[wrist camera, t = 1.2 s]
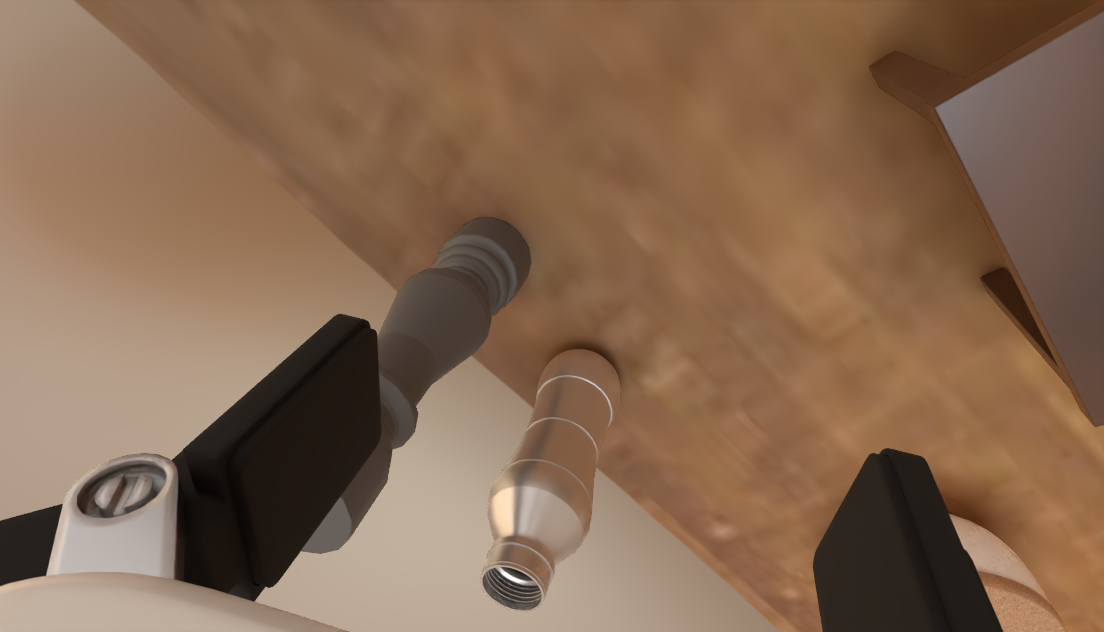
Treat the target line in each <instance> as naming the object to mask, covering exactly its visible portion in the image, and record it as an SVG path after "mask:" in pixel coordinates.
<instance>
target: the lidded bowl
mask: <svg viewBox="0 0 1104 632" xmlns="http://www.w3.org/2000/svg"><path fill="white" fill-rule="evenodd" d="M949 515H950V517H951V520H952V522H953V525H954V527H955V529H956V532H957V534H958V536H959V539H960V541H961V543H962V546H963V548H964V549H965V550H966V551H967V552H968V553H969V555H970V557H971V558H972V560H973V562H974V565H975V567H976V569H977V572H978V574H979V576H980V578H981V581H982V583H983V585H984V588H985V590H986V592H987V595H988V597H989V599H990V602H991V604H992V606H993V608H994V611H995V613H996V615H997V618H998V620H999V622H1000V625H1001V627H1002V629H1003V632H1067V630H1066V628H1065V626H1064V624H1063V622H1062V620H1061V618H1060V616H1059V615H1058V613H1057V612H1056V611H1055V609H1054V608H1053V607H1052V605H1051V604H1050V603H1049V601H1048V599H1047V597H1046V595H1045V594H1044V592H1043V590H1042V589H1041V587H1040V585H1039V583H1038V582H1037V581H1036V579H1035V578H1034V576H1033V575H1032V574H1031V572H1030V571H1029V570H1028V568H1027V567H1026V566H1025V564H1024V563H1023V561H1022V560H1021V559H1020V558H1019V557H1018V556H1017V555H1016V554H1015V553H1014V551H1013V550H1012V549H1011V548H1010V547H1008V546H1007V545H1006V544H1005V543H1004V542H1003V541H1002V540H1000V539H999V538H998V537H997V536H995V535H994V534H992V533H991V532H989V531H988V530H986V529H985V528H983V527H981V526H979V525H977V524H975V523H973V522H971V521H969V520H966V519H963V518H960V517H957V516H954V515H952V514H950V513H949Z"/></svg>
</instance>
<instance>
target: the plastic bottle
mask: <svg viewBox="0 0 1104 632" xmlns="http://www.w3.org/2000/svg"><path fill="white" fill-rule="evenodd" d="M620 399H621V392H620V380H619V377H618V374H617V372H616V371H615V369H614V367H613V366H612V365H611V364H610V363H609V362H608V361H607V360H606V359H605V358H603V357H602V356H601V355H599V354H597V353H595V352H593V351H590V350H585V349H572V350H567V351H564V352H561V353H560V354H558V355H556V356H555V357H554V358H553V359H552V360H551V361H550V362H549V364H548V365H547V366H546V367H545V369H544V370H543V372H542V374H541V377H540V380H539V384H538V388H537V395H536V403H535V407H534V410H533V413H532V417H531V420H530V423H529V426H528V428H527V429H526V431H525V434H524V436H523V437H522V439H521V441H520V443H519V445H518V447H517V449H516V451H515V452H514V454H513V455H512V457H511V459H510V460H509V461H508V463H507V464H506V466H505V468H504V469H503V470H502V472H501V473H500V475H499V476H498V478H497V479H496V481H495V483H494V485H493V487H492V489H491V491H490V494H489V501H488V518H489V523H490V527H491V531H492V535H493V538H494V540H495V541H494V542H493V543H492V545H491V546H490V549H489V551H488V554H487V561H486V563H485V566H484V568H483V570H482V573H481V578H480V580H481V581H480V582H481V586H482V588H483V590H484V592H485V593H486V595H487V596H488V597H489V598H490V599H491V600H493V601H494V602H495V603H497V604H499V605H500V606H502V607H504V608H507V609H510V610H513V611H519V612H528V611H533V610H536V609H537V608H539V607H540V606H541V605H542V603H543V601H544V599H545V597H546V593H547V590H548V586H549V585H550V583H551V582H552V579H553V576H554V572H555V565H557V564H559V563H560V562H562V561H563V560H565V559H566V558H567V557H569V556H570V555H572V554H573V553H575V552H576V550H577V549H578V548H579V547H580V546H581V544H582V543H583V541H584V539H585V538H586V536H587V534H588V532H589V528H590V522H591V515H592V502H593V486H594V476H595V471H596V465H597V460H598V454H599V450H600V447H601V445H602V442H603V439H604V437H605V434H606V432H607V429H608V427H609V426H610V424H611V423H612V421H613V419H614V417H615V415H616V413H617V410H618V408H619V405H620Z"/></svg>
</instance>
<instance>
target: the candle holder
mask: <svg viewBox="0 0 1104 632" xmlns="http://www.w3.org/2000/svg"><path fill="white" fill-rule="evenodd" d="M530 265H531V259H530V253H529V247H528V246H527V244H526V242H525V241H524V239H523V237H522V235H521V234H520V233H519V232H518V231H517V230H515V229H514V228H513V227H512V226H511V225H509V224H508V223H506V222H503V221H500V220H497V219H495V218H477V219H475V220H473V221H471V222H469V223H467V224H465V225H463V226H462V227H461V228H460V229H459V230H458V231H457V232H456V233H455V234H454V235H453V236H452V237H451V238H450V239H449V240H448V241H447V242H446V243H445V245H444V246H443V247H442V249H441V250H440V252H439V253H438V257H437V258H436V260H435V261H434V262H433V265H432V268H429V269H426V270H424V271H422V272H420V273H418V274H415V275H413V276H411V277H410V278H409V279H408V280H407V281H406V282H405V283H404V285H403V286H402V288H401V289H400V290H399V292H398V293H397V295H396V297H395V300H394V302H393V304H392V306H391V308H390V310H389V313H388V315H387V317H386V319H385V321H384V323H383V325H382V328H381V330H380V332H379V334H378V336H377V340H378V361H379V383H380V405H381V426H382V432H381V437H380V441H379V443H378V445H377V447H376V449H375V450H374V451H373V453H372V454H371V456H370V457H369V458H368V460H367V461H366V462H365V464H364V465H363V466H362V468H361V469H360V471H359V472H358V473H357V475H356V476H355V477H354V479H353V480H352V482H351V483H350V484H349V486H348V487H347V488H346V490H345V491H344V492H343V494H342V495H341V497H340V498H339V499H338V501H337V502H336V503H335V505H334V506H333V508H332V509H331V510H330V512H329V513H328V514H327V516H326V517H325V518H324V520H323V521H322V523H321V524H320V525H319V527H318V528H317V529H316V531H315V532H314V534H313V535H312V536H311V538H310V539H309V540H308V542H307V543H306V544H305V546H304V547H303V549H302V550H301V551H304V552H311V553H319V554H322V553H326V552H330V551H334V550H339V549H340V548H341V547H342V546H343V545H344V544H345V543H346V542H347V541H348V540H349V539H350V537H351V536H352V534H353V533H354V531H355V530H356V528H357V527H358V525H359V524H360V522H361V521H362V519H363V518H364V516H365V515H366V513H367V512H368V510H369V508H370V507H371V505H372V504H373V503H374V501H375V499H376V498H377V496H378V495H379V493H380V492H381V490H382V489H383V487H384V486H385V484H386V483H387V480H388V473H389V468H390V462H391V456H392V449H396V448H399V447H401V446H403V445H404V444H405V443H406V441H408V440H409V439H410V437H411V436H412V435H413V434H414V432H415V428H416V423H417V417H418V411H417V408H416V405H417V404H418V402H419V401H420V400H421V398H422V397H423V396H424V394H425V393H426V391H427V390H428V389H429V387H430V386H431V385H432V384H433V383H434V382H436V381H437V380H438V379H440V378H441V377H442V376H444V375H445V374H447V373H448V372H449V371H450V370H452V369H453V368H455V367H456V366H457V365H459V364H460V363H461V362H463V361H464V360H466V359H467V358H468V357H470V356H471V355H472V354H474V353H475V352H476V351H477V349H478V348H479V347H480V346H481V345H482V344H483V343H484V341H485V340H486V338H487V336H488V332H489V328H490V324H491V318H492V316H493V315H495V314H497V313H498V311H499V310H500V309H501V308H503V307H505V306H506V305H507V304H508V303H509V302H510V301H511V299H512V298H513V297H514V296H515V295H516V293H517V292H518V290H519V288H520V287H521V285H522V284H523V282H524V281H525V279H526V278H527V276H528V272H529V268H530Z"/></svg>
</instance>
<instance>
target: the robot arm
mask: <svg viewBox="0 0 1104 632" xmlns="http://www.w3.org/2000/svg"><path fill="white" fill-rule="evenodd" d="M381 432H382V426H381V405H380V383H379V361H378V340H377V333H376V331H375V330H374V329H371V328H370V324H369V322H368V321H366V320H364V319H360V318H356V317H352V316H347V315H343V314H338V315H336V316H334V317H333V318H332V319H331V320H330V321H329V322H327V323H326V324H325V325H324V326H323V327H322V328H320V329H319V330H318V331H317V332H316V333H315V334H314V335H313V336H311V337H310V338H309V339H308V340H307V341H306V342H305V343H303V344H302V345H301V346H300V347H299V348H298V349H297V350H296V351H294V352H293V353H292V354H291V355H290V356H289V357H287V358H286V359H285V360H284V361H283V362H282V363H281V364H280V365H278V366H277V367H276V368H275V369H274V370H273V371H272V372H270V373H269V374H268V375H267V376H266V377H265V378H264V379H262V380H261V381H260V382H259V383H258V384H257V385H256V386H255V387H254V388H252V389H251V390H250V391H249V392H248V393H247V394H246V395H244V396H243V397H242V398H241V399H240V400H239V401H237V402H236V403H235V404H234V405H233V406H232V407H231V408H230V409H228V410H227V411H226V412H225V413H224V414H223V415H222V416H220V417H219V418H218V419H217V420H216V421H215V422H214V423H212V424H211V425H210V426H209V427H208V428H207V429H206V430H204V431H203V432H202V433H201V434H200V435H199V436H198V437H196V438H195V439H194V440H193V441H192V442H191V443H190V444H189V445H187V446H186V447H185V448H184V449H183V451H182V452H181V453H179V454H178V455H177V456H176V457H175V458H174V459H172V460H170V459H168V458H165V457H163V456H161V455H158V454H148V453H141V454H132V455H126V456H122V457H119V458H115V459H112V460H109V461H107V462H105V463H103V464H101V465H99V466H97V467H94V468H93V469H92V470H90V471H89V472H87V473H86V474H84V475H83V476H82V477H80V478H79V479H78V480H77V481H76V482H75V484H74V485H73V486H72V487H71V488H70V489H69V491H68V493H67V495H66V497H65V499H64V502H63V504H60V505H57V506H53V507H49V508H45V509H42V510H38V511H34V512H31V513H27V514H24V515H20V516H16V517H12V518H9V519H5V520H2V521H0V632H348V631H345V630H342V629H339V628H335V627H333V626H329V625H326V624H323V623H320V622H317V621H314V620H311V619H308V618H305V617H302V616H299V615H296V614H293V613H289V612H286V611H283V610H279V609H276V608H273V607H269V606H266V605H263V604H259V603H256V602H254V601H255V600H256V599H257V597H258V596H259V595H260V593H261V592H262V591H263V589H264V588H265V587H268V588H270V587H273V586H274V585H275V584H276V583H277V582H278V581H279V580H280V578H281V577H282V576H283V574H284V573H285V572H286V570H287V569H288V568H289V566H290V565H291V564H292V562H293V561H294V559H295V558H296V557H297V555H298V554H299V553H300V551H301V550H302V549H303V547H304V546H305V544H306V543H307V542H308V540H309V539H310V538H311V536H312V535H313V534H314V532H315V531H316V529H317V528H318V527H319V525H320V524H321V523H322V521H323V520H324V518H325V517H326V516H327V514H328V513H329V512H330V510H331V509H332V508H333V506H334V505H335V503H336V502H337V501H338V499H339V498H340V497H341V495H342V494H343V492H344V491H345V490H346V488H347V487H348V486H349V484H350V483H351V482H352V480H353V479H354V477H355V476H356V475H357V473H358V472H359V471H360V469H361V468H362V466H363V465H364V464H365V462H366V461H367V460H368V458H369V457H370V456H371V454H372V453H373V451H374V450H375V449H376V447H377V445H378V443H379V441H380V437H381ZM813 571H814V578H815V584H816V591H817V597H818V603H819V610H820V616H821V622H822V629H823V632H1003V629H1002V627H1001V625H1000V622H999V620H998V618H997V615H996V613H995V611H994V608H993V606H992V604H991V602H990V599H989V597H988V595H987V592H986V590H985V588H984V585H983V583H982V581H981V578H980V576H979V574H978V572H977V569H976V567H975V565H974V562H973V560H972V558H971V557H970V555H969V553H968V552H967V551H966V550H965V549H964V548H963V546H962V543H961V541H960V539H959V536H958V534H957V532H956V529H955V527H954V525H953V522H952V520H951V517H950V515H949V513H948V510H947V508H946V506H945V503H944V501H943V499H942V496H941V494H940V492H939V489H938V487H937V485H936V482H935V480H934V478H933V475H932V473H931V471H930V468H929V466H928V464H927V462H926V460H925V459H924V458H923V457H921V456H918V455H914V454H910V453H906V452H902V451H897V450H893V449H889V448H886V449H884V450H882V451H881V452H880V454H875V453H872V454H870V455H869V456H868V458H867V459H866V461H865V463H864V464H863V466H862V468H861V470H860V472H859V473H858V475H857V477H856V479H855V481H854V482H853V484H852V486H851V488H850V490H849V492H848V493H847V495H846V497H845V499H844V501H843V502H842V504H841V506H840V508H839V510H838V511H837V513H836V515H835V517H834V519H833V520H832V522H831V524H830V526H829V528H828V529H827V531H826V533H825V535H824V537H823V539H822V540H821V542H820V544H819V546H818V548H817V550H816V552H815V556H814V561H813Z"/></svg>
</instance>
